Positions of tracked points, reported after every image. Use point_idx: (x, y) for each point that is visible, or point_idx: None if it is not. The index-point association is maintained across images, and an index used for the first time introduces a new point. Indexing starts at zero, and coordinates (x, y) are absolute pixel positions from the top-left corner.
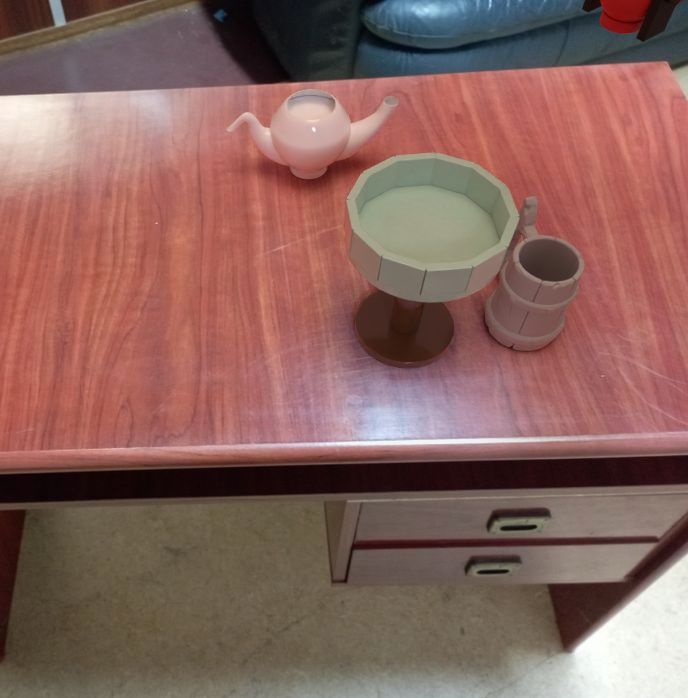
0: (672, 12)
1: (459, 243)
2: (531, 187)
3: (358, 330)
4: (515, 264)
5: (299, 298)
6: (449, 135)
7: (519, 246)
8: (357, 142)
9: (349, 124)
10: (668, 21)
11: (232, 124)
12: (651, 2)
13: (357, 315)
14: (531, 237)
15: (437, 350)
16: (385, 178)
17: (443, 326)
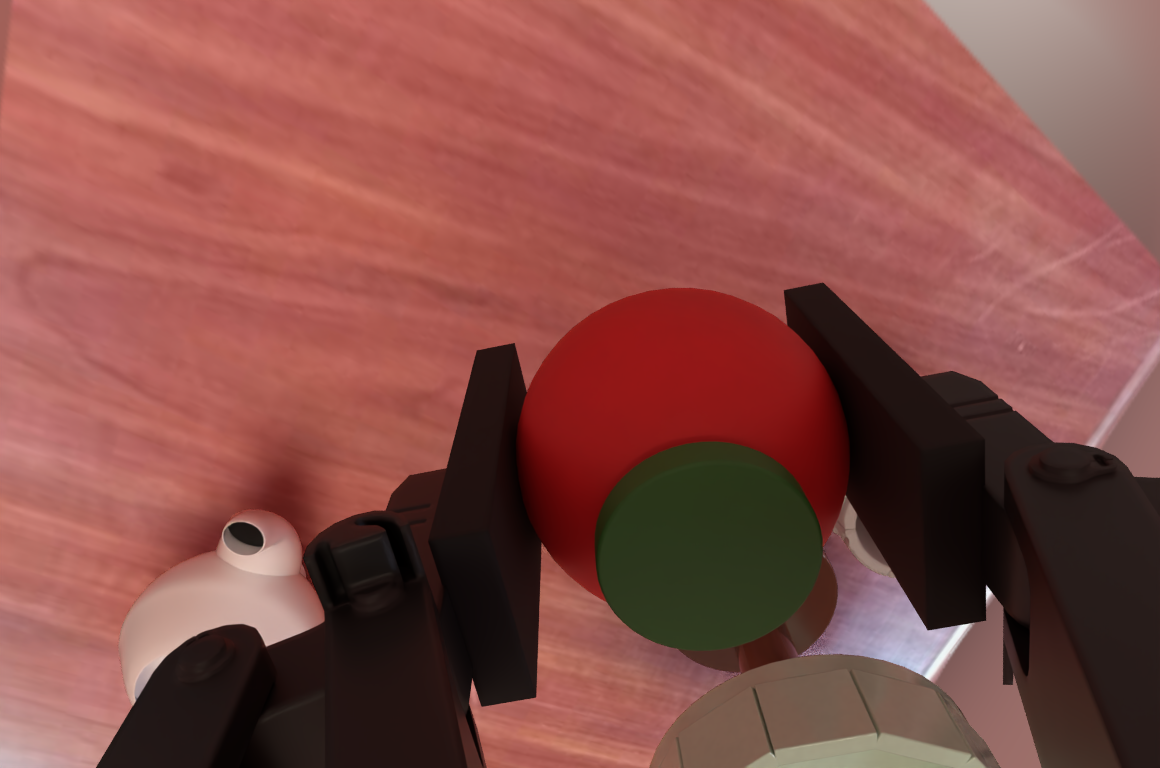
0: (852, 313)
1: (876, 764)
2: (515, 158)
3: (725, 669)
4: (891, 576)
5: (601, 703)
6: (250, 239)
7: (857, 548)
8: (292, 557)
9: (259, 598)
10: (836, 296)
11: None
12: (846, 495)
13: (695, 659)
14: (851, 515)
15: (828, 582)
16: None
17: None
